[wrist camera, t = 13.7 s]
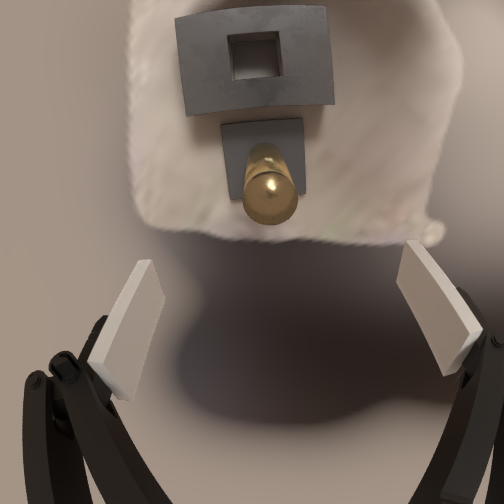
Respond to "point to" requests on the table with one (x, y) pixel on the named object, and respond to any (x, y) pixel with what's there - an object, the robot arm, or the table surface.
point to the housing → (247, 29)
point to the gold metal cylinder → (268, 186)
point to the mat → (266, 131)
